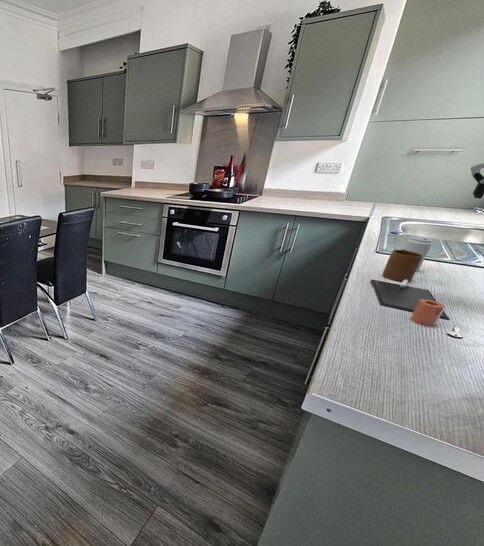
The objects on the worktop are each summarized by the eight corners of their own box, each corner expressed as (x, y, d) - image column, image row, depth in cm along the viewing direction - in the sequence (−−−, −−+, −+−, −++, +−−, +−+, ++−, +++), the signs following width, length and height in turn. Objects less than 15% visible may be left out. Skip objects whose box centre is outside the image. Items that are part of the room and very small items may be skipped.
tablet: (427, 292, 100) (428, 289, 100) (448, 321, 84) (450, 318, 84) (370, 281, 108) (371, 278, 107) (379, 306, 92) (380, 303, 91)
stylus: (405, 287, 98) (408, 282, 106) (404, 284, 98) (407, 279, 106) (400, 288, 99) (403, 283, 107) (399, 284, 99) (402, 279, 107)
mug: (380, 268, 119) (390, 245, 115) (407, 273, 115) (419, 249, 111) (382, 278, 110) (393, 253, 107) (412, 284, 106) (425, 258, 102)
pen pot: (431, 321, 84) (442, 302, 82) (436, 329, 81) (447, 309, 78) (408, 316, 86) (417, 297, 84) (411, 323, 83) (421, 304, 81)
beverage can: (422, 272, 116) (438, 241, 111) (400, 270, 118) (414, 239, 113) (412, 266, 121) (427, 237, 116) (392, 264, 123) (405, 235, 118)
